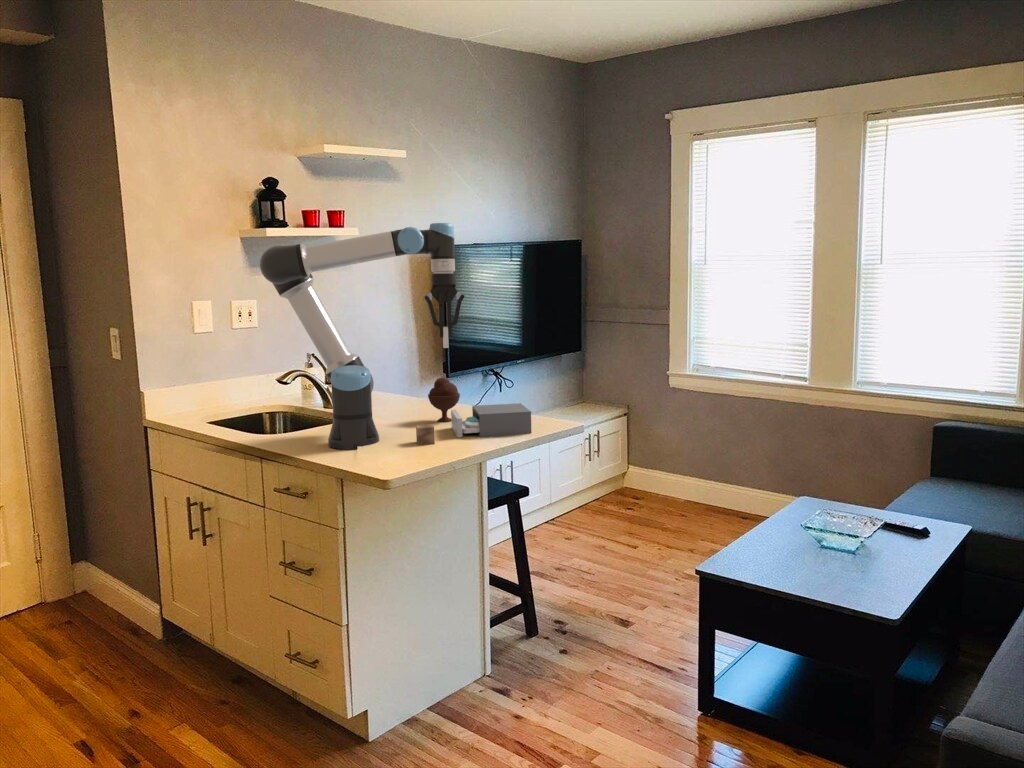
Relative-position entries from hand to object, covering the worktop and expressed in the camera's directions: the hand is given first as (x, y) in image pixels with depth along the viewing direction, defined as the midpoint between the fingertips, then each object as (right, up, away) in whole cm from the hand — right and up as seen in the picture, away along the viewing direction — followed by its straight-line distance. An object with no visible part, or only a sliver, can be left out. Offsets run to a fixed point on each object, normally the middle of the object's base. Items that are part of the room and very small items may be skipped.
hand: (445, 347), depth 264 cm
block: (-5, -29, -18) cm, 34 cm away
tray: (+11, -27, -2) cm, 29 cm away
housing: (+18, -26, -1) cm, 32 cm away
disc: (+10, -25, -2) cm, 27 cm away
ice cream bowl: (-2, -25, +16) cm, 30 cm away
